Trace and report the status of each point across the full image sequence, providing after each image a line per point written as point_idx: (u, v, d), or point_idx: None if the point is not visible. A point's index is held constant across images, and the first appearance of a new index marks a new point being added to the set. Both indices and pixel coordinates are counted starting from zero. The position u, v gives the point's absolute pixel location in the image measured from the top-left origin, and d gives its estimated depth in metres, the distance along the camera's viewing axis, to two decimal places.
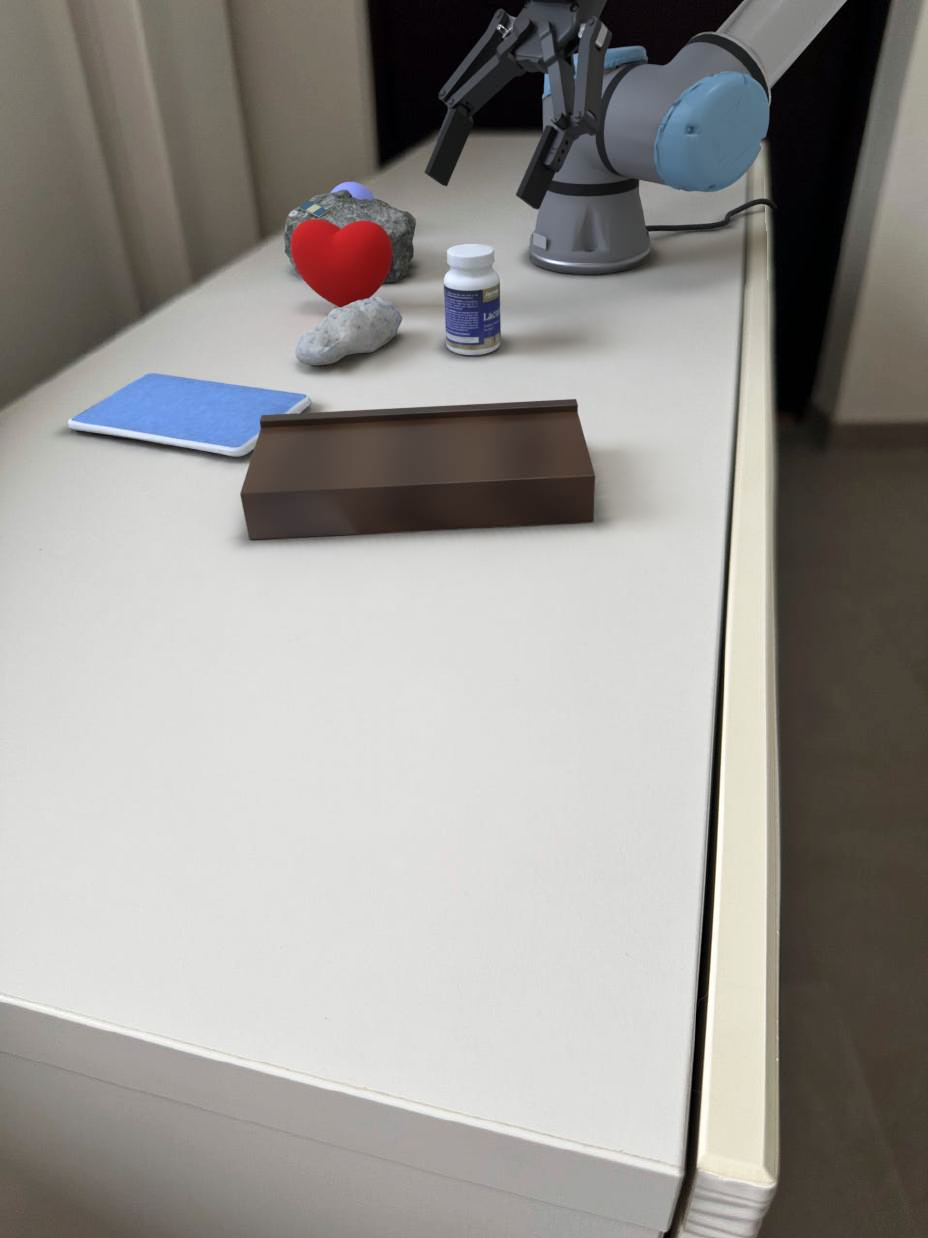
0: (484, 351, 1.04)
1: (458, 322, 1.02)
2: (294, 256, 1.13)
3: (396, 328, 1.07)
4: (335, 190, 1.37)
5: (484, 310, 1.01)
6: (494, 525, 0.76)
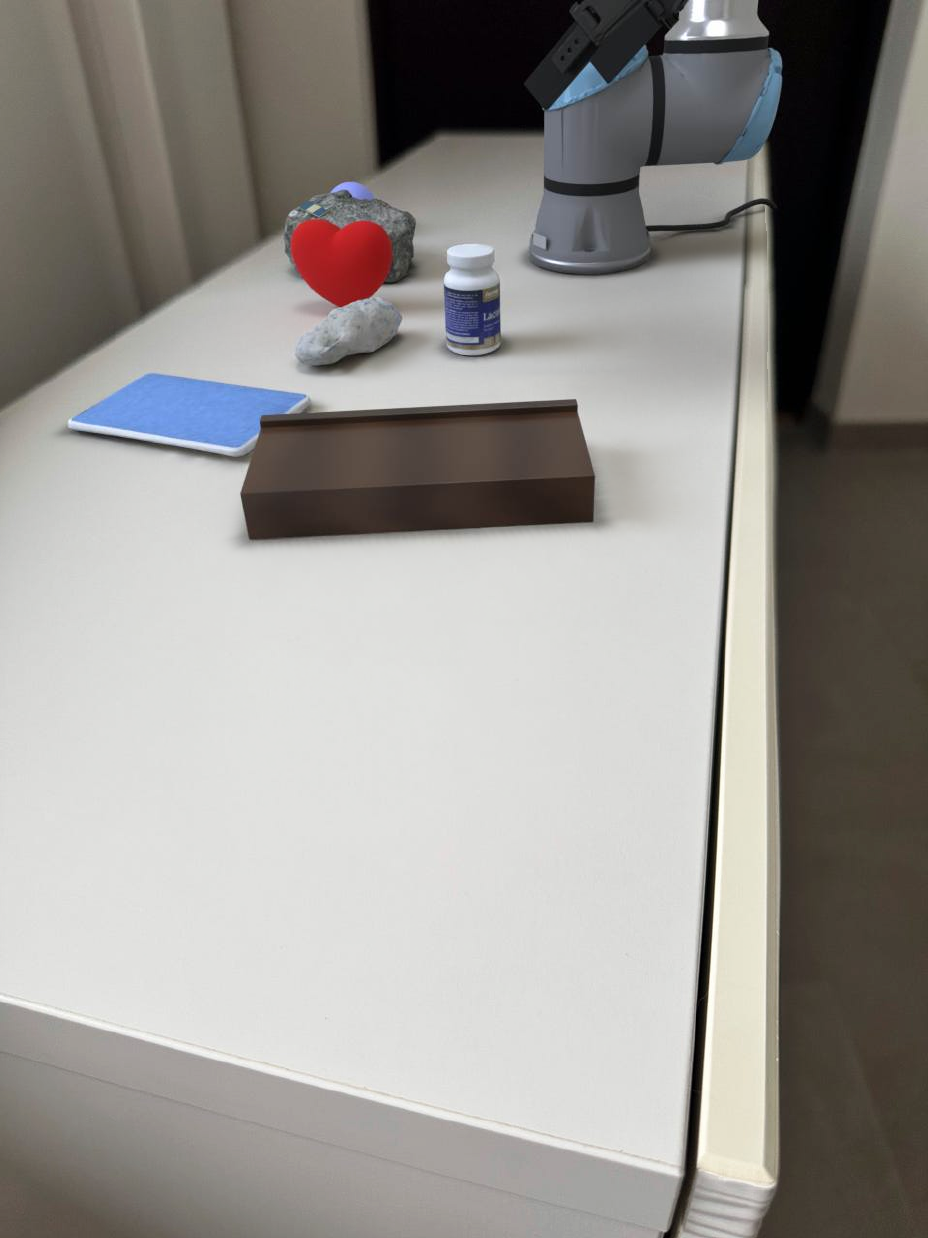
0: (484, 351, 1.04)
1: (458, 322, 1.02)
2: (294, 256, 1.13)
3: (396, 328, 1.07)
4: (335, 190, 1.37)
5: (484, 310, 1.01)
6: (494, 525, 0.76)
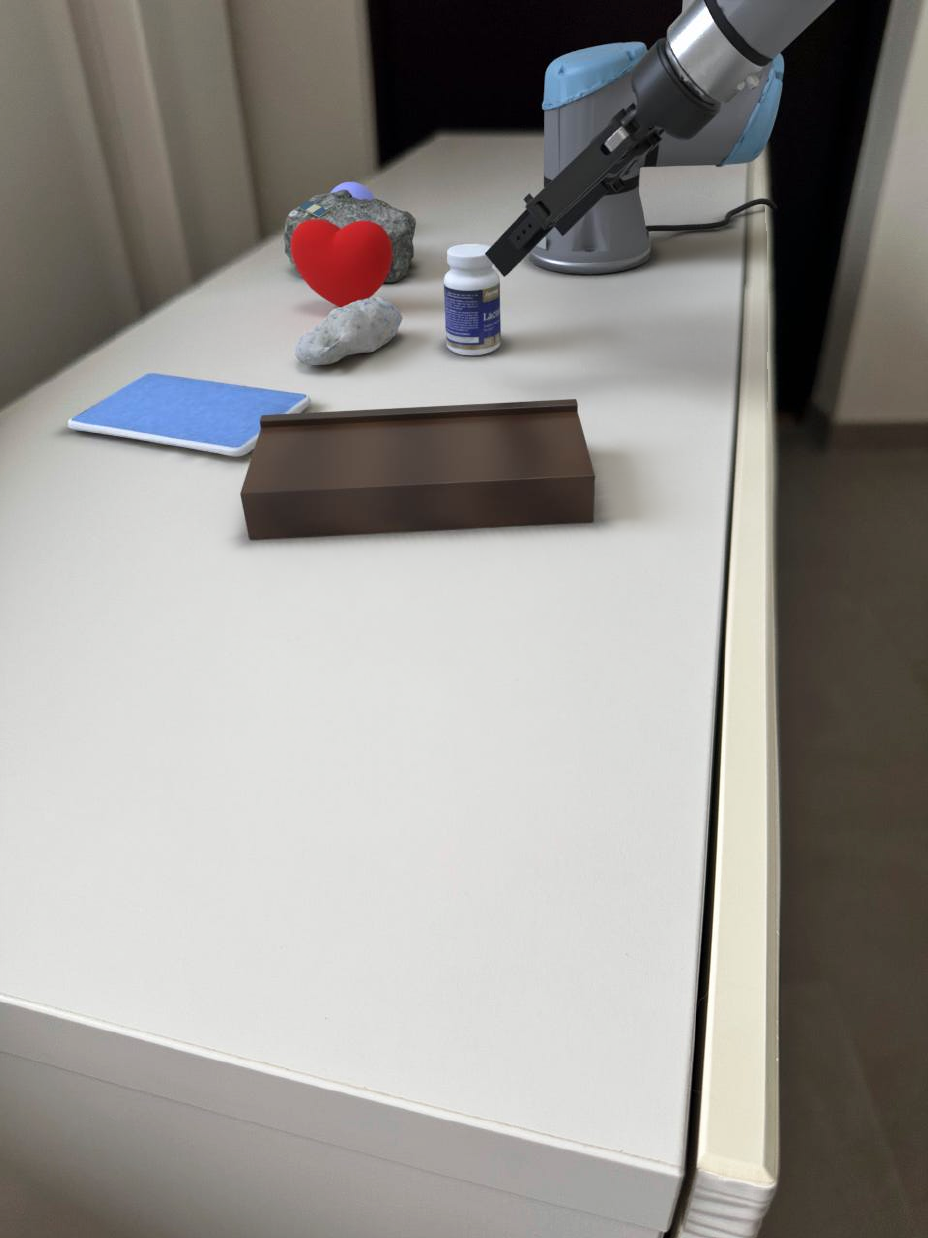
0: (484, 351, 1.04)
1: (458, 322, 1.02)
2: (294, 256, 1.13)
3: (396, 328, 1.07)
4: (335, 190, 1.37)
5: (484, 310, 1.01)
6: (494, 525, 0.76)
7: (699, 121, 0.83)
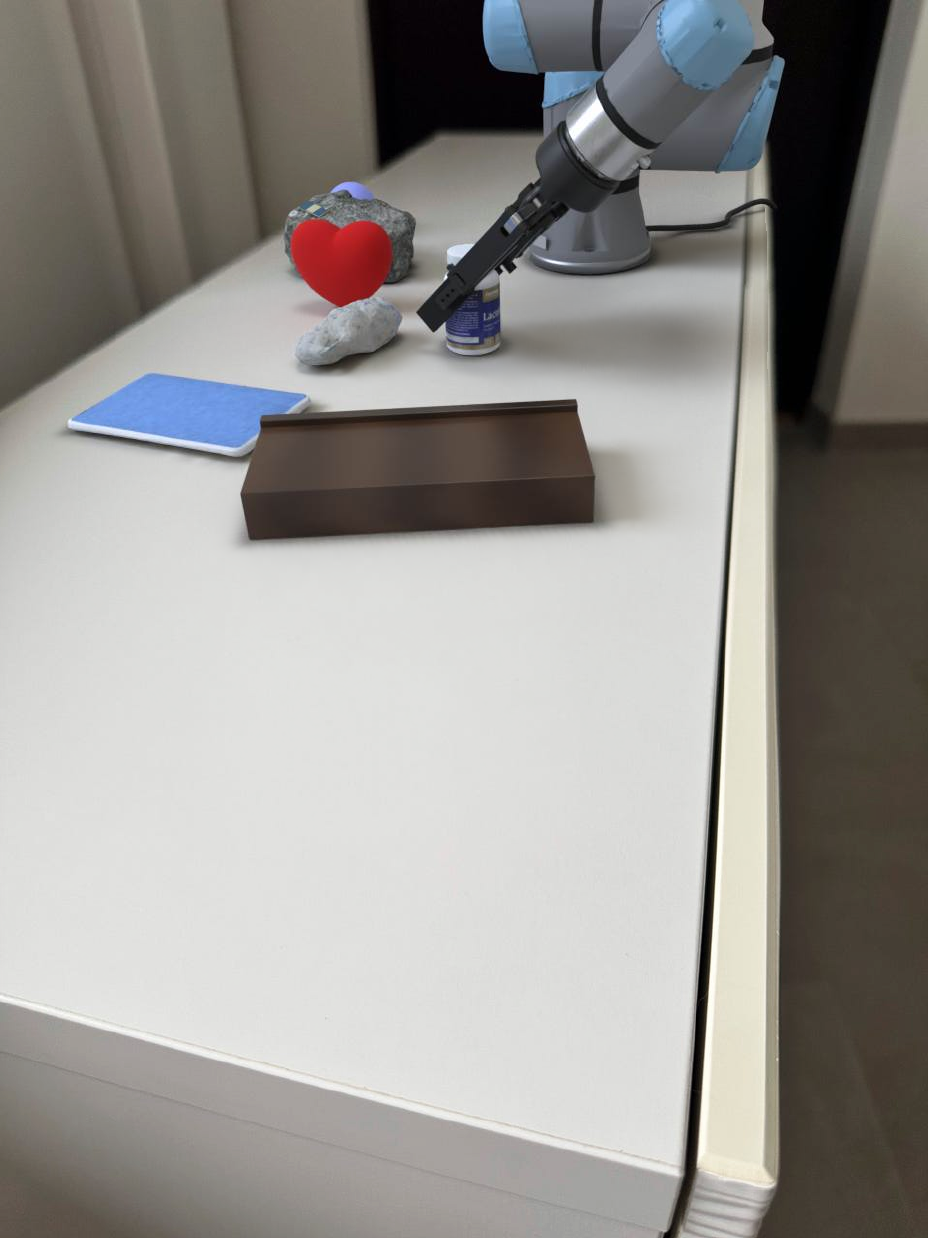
0: (484, 351, 1.04)
1: (458, 322, 1.02)
2: (294, 256, 1.13)
3: (396, 328, 1.07)
4: (335, 190, 1.37)
5: (483, 310, 1.01)
6: (494, 525, 0.76)
7: (598, 196, 0.90)
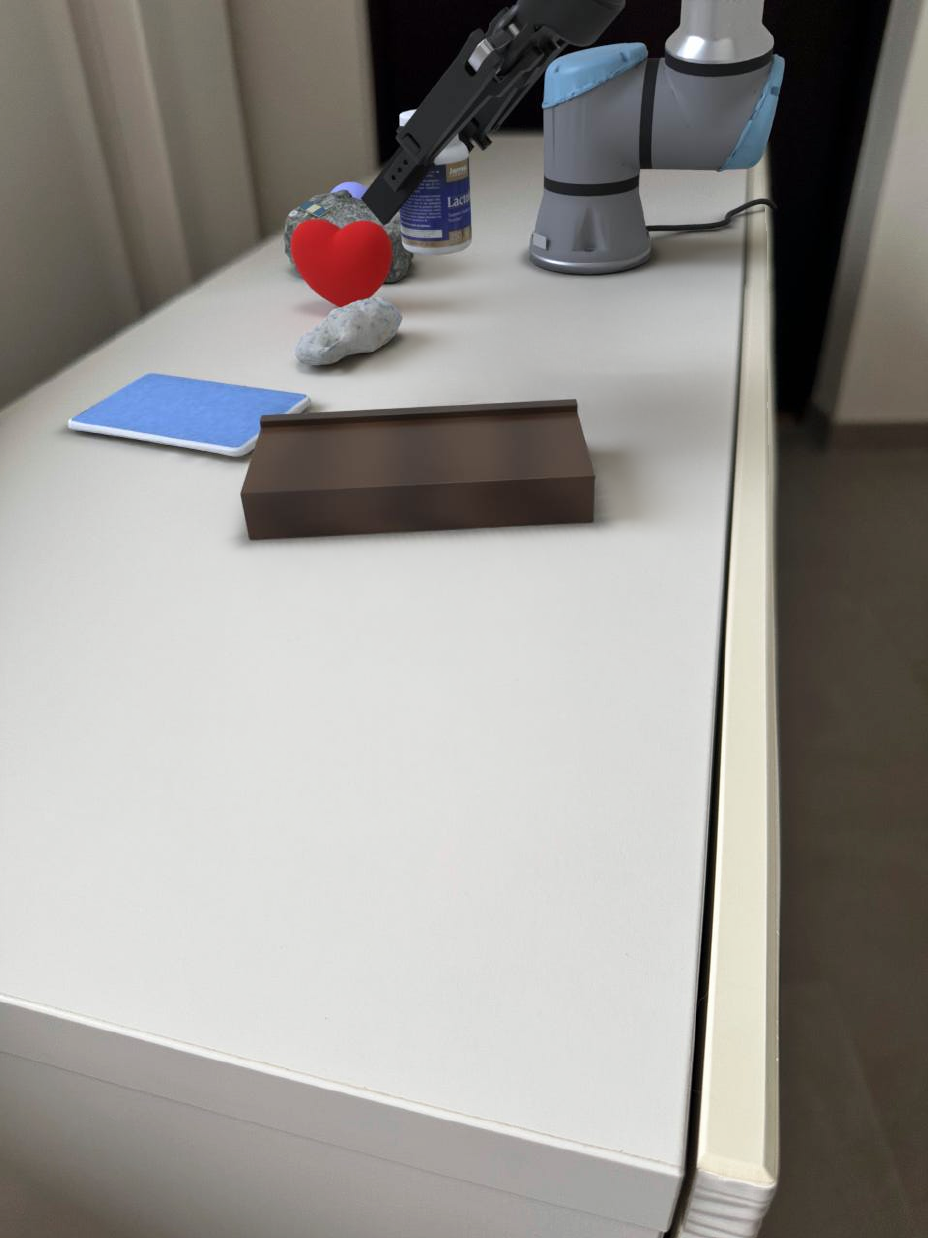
0: (449, 249, 0.80)
1: (415, 209, 0.79)
2: (294, 256, 1.13)
3: (396, 328, 1.07)
4: (335, 190, 1.37)
5: (448, 193, 0.78)
6: (494, 525, 0.76)
7: (596, 18, 0.66)
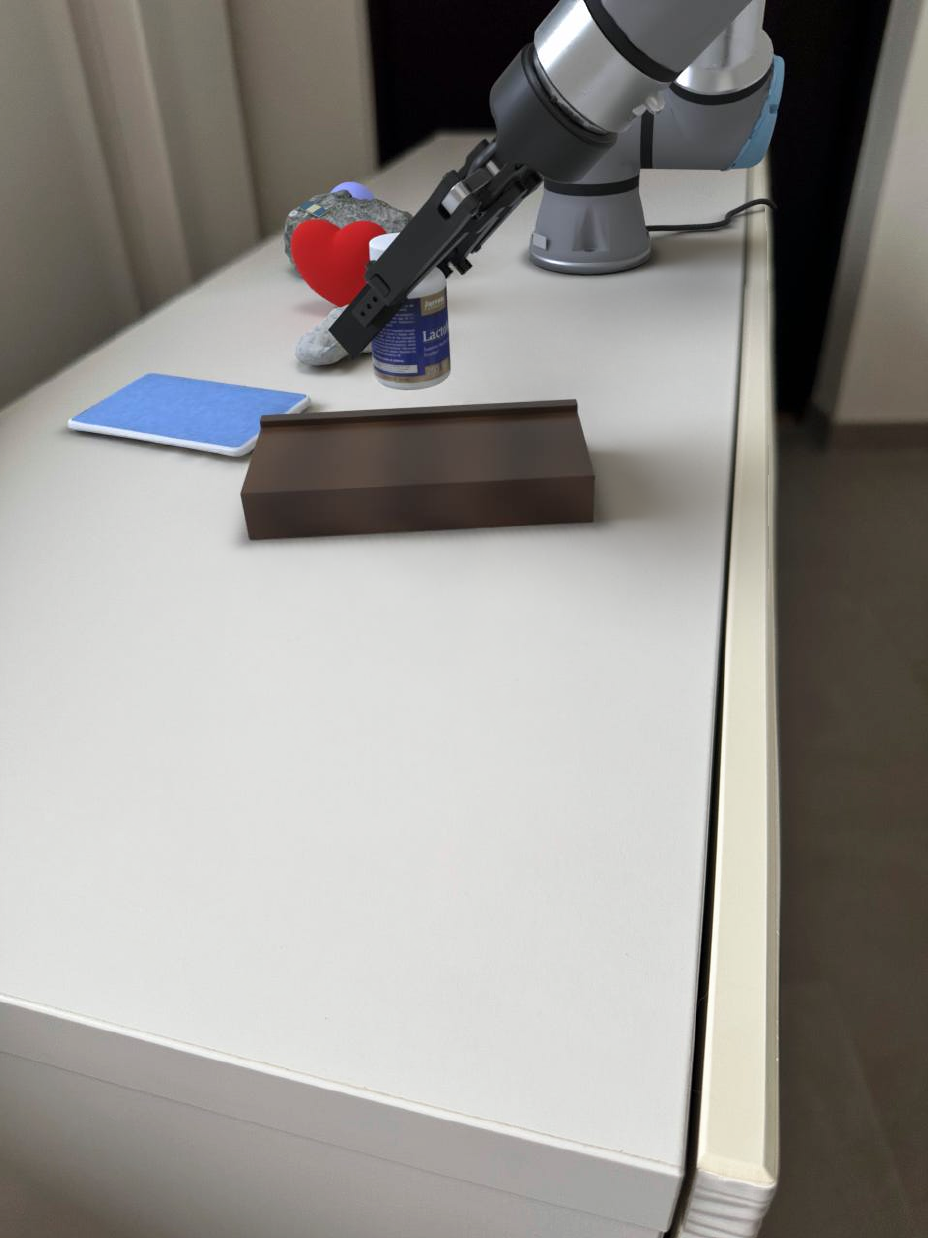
0: (426, 385, 0.73)
1: (387, 343, 0.72)
2: (294, 256, 1.13)
3: None
4: (335, 190, 1.37)
5: (423, 327, 0.71)
6: (494, 525, 0.76)
7: (585, 158, 0.59)
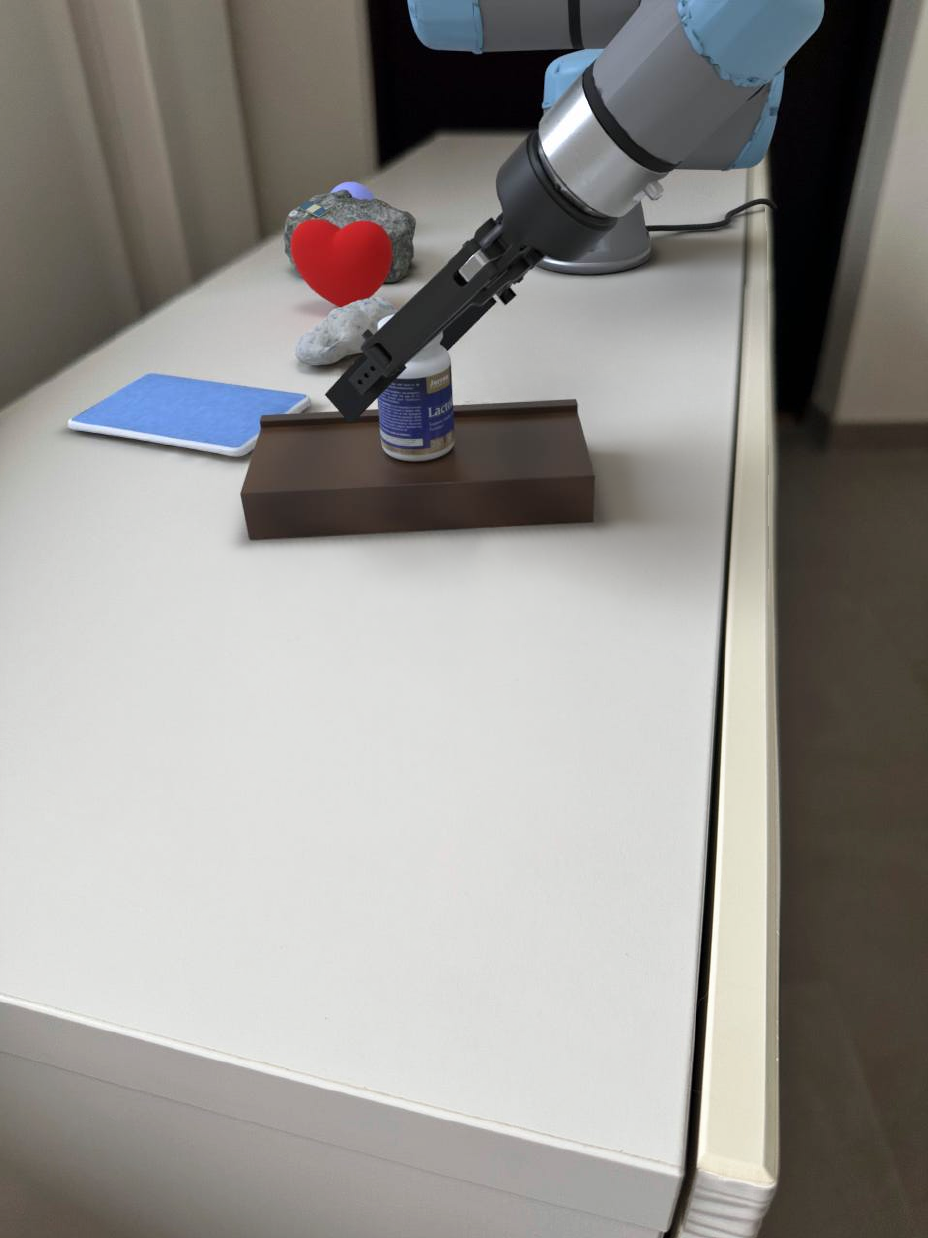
0: (431, 456, 0.77)
1: (395, 419, 0.75)
2: (294, 256, 1.13)
3: None
4: (335, 190, 1.37)
5: (428, 404, 0.74)
6: (494, 525, 0.76)
7: (587, 240, 0.62)
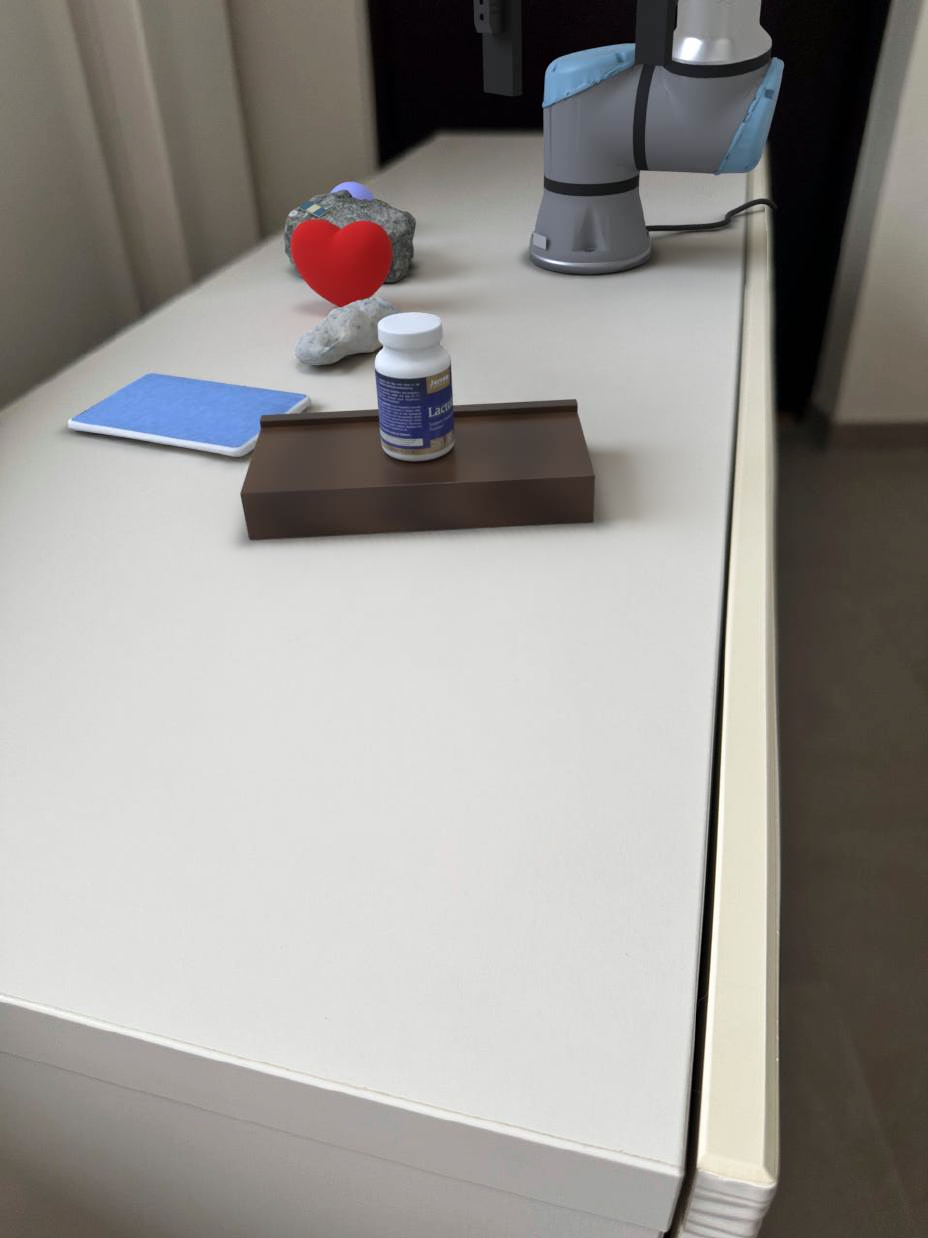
0: (431, 456, 0.77)
1: (395, 419, 0.75)
2: (294, 256, 1.13)
3: None
4: (335, 190, 1.37)
5: (428, 404, 0.74)
6: (494, 525, 0.76)
7: None
